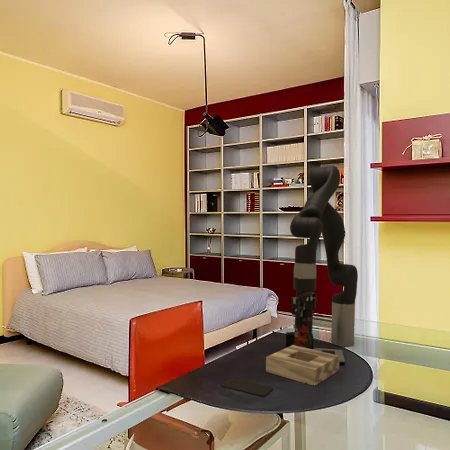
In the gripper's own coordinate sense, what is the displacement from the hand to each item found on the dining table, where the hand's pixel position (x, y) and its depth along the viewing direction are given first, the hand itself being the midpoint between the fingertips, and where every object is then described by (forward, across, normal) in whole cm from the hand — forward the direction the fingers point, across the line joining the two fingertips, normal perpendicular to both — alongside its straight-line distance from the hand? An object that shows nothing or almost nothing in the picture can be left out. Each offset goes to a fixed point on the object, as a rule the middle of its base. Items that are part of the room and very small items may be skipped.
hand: (303, 325), depth 141 cm
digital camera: (+16, -18, -11) cm, 27 cm away
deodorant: (+7, 0, 0) cm, 7 cm away
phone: (+16, +24, -6) cm, 29 cm away
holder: (+15, 0, 0) cm, 15 cm away
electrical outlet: (+16, -18, +1) cm, 24 cm away
